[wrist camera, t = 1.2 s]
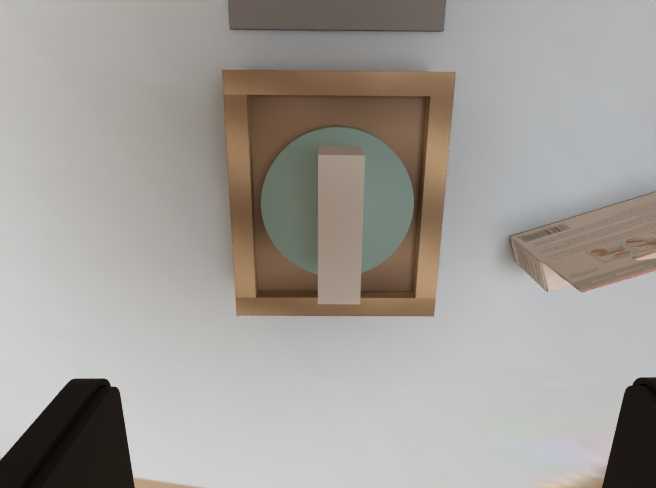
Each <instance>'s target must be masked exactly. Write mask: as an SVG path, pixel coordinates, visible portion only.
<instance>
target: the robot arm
mask: <svg viewBox="0 0 656 488" xmlns="http://www.w3.org/2000/svg"><path fill="white" fill-rule="evenodd" d="M0 488H135V487H134V482H133V474H132V468H131V461H130V455H129V449H128V442H127V436H126V429H125V423H124V416H123V410H122V404H121V397H120V392H119V390H118V388H117V387H111V386H110V383H109V381H108V380H107V379H72V380H71V381H69V382H68V383H67V384H66V386H65V387H64V388H63V389H62V390H61V391H60V392H59V394H58V395H57V396H56V397H55V398H54V399H53V401H52V402H51V403H50V404H49V405H48V406H47V407H46V409H45V410H44V411H43V412H42V413H41V414H40V415H39V417H38V418H37V419H36V420H35V421H34V422H33V424H32V425H31V426H30V427H29V428H28V429H27V430H26V432H25V433H24V434H23V435H22V436H21V437H20V439H19V440H18V441H17V442H16V443H15V444H14V445H13V447H12V448H11V449H10V450H9V451H8V452H7V454H6V455H5V456H4V457H3V458H2V459H1V460H0ZM602 488H656V377H654V378H638V379H636V380H635V382H634V383H633V385H632V386H629V387H628V388H627V389H626V390H625V393H624V397H623V401H622V405H621V410H620V414H619V418H618V422H617V427H616V431H615V435H614V439H613V444H612V448H611V452H610V456H609V461H608V465H607V469H606V473H605V478H604V482H603V486H602Z"/></svg>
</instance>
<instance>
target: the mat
mask: <svg viewBox="0 0 656 488" xmlns="http://www.w3.org/2000/svg"><path fill="white" fill-rule="evenodd" d="M445 6H446V0H229V17H230V29H246V30H349V31H444V18H445Z"/></svg>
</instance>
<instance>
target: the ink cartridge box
mask: <svg viewBox="0 0 656 488" xmlns="http://www.w3.org/2000/svg"><path fill="white" fill-rule="evenodd" d="M510 239H511V244H512V248H513V252H514V257H515V261H516V263H517V264H518V265H519V266H520V267H521V268H523V269H524V270H525V271H526V272H527V273H528V274H529V275H530V276H531V277H532V278H533V279H534V280H535V281H536V282H537V283H538V284H539V285H540V286H541V287H542V288H543V289H544V290H545V291H546V292H550V291H553V290H557V289H560V288H564V287H567V286H570V285H573V286H574V287H575V288H576V289H578V290H579V291H580V292H585V291H588V290H591V289H594V288H597V287H601V286H604V285H607V284H611V283H614V282H618V281H621V280H625V279H628V278H632V277H635V276H638V275H641V274H645V273H648V272H651V271H655V270H656V192H654V193H651V194H648V195H644V196H641V197H638V198H635V199H631V200H628V201H625V202H621V203H618V204H615V205H612V206H608V207H605V208H602V209H599V210H595V211H592V212H589V213H586V214H583V215H579V216H576V217H573V218H569V219H566V220H563V221H560V222H556V223H553V224H550V225H547V226H544V227H540V228H537V229H533V230H530V231H527V232H524V233H520V234H517V235H513V236H511V238H510Z"/></svg>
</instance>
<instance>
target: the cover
mask: <svg viewBox="0 0 656 488" xmlns="http://www.w3.org/2000/svg"><path fill="white" fill-rule="evenodd" d="M413 208H414V195H413V188H412V184H411V180H410V177H409V175H408V173H407V170H406V168H405V166H404V165H403V163H402V161H401V160H400V159H399V157H398V156H397V155H396V154H395V152H394V151H393V150H392V149H390V148H389V147H388V146H387V145H386V144H385V143H384V142H383V141H382V140H380V139H379V138H377V137H376V136H374V135H372V134H370V133H368V132H366V131H364V130H361V129H358V128H354V127H349V126H339V125H336V126H325V127H320V128H316V129H313V130H311V131H308V132H306V133H304V134H302V135H300V136H298V137H297V138H296V139H294V140H293V141H291V142H290V143H289V144H288V145H287V146H286V147H285V148H284V149H283V150H282V151H281V152H280V153H279V155H278V156H277V158H276V159H275V161H274V162H273V164H272V165H271V167H270V169H269V171H268V173H267V175H266V178H265V181H264V184H263V188H262V194H261V212H262V218H263V222H264V226H265V228H266V231H267V233H268V235H269V237H270V239H271V241H272V242H273V244H274V245H275V247H276V248H277V249H278V250H279V252H280V253H281V254H282V255H283V256H284V257H285V258H287V259H288V260H289V261H290V262H292V263H293V264H295V265H296V266H298V267H299V268H301V269H304V270H306V271H308V272H311V273H314V274H317V275H318V304H360V293H361V273H363V272H366V271H368V270H370V269H372V268H374V267H376V266H377V265H379V264H381V263H382V262H383V261H385V260H386V259H387V258H389V257H390V256H391V255H392V254H393V253H394V252H395V251H396V249H397V248H398V247H399V245H400V244H401V243H402V241H403V239H404V237H405V236H406V234H407V231H408V229H409V227H410V223H411V220H412V216H413Z"/></svg>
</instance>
